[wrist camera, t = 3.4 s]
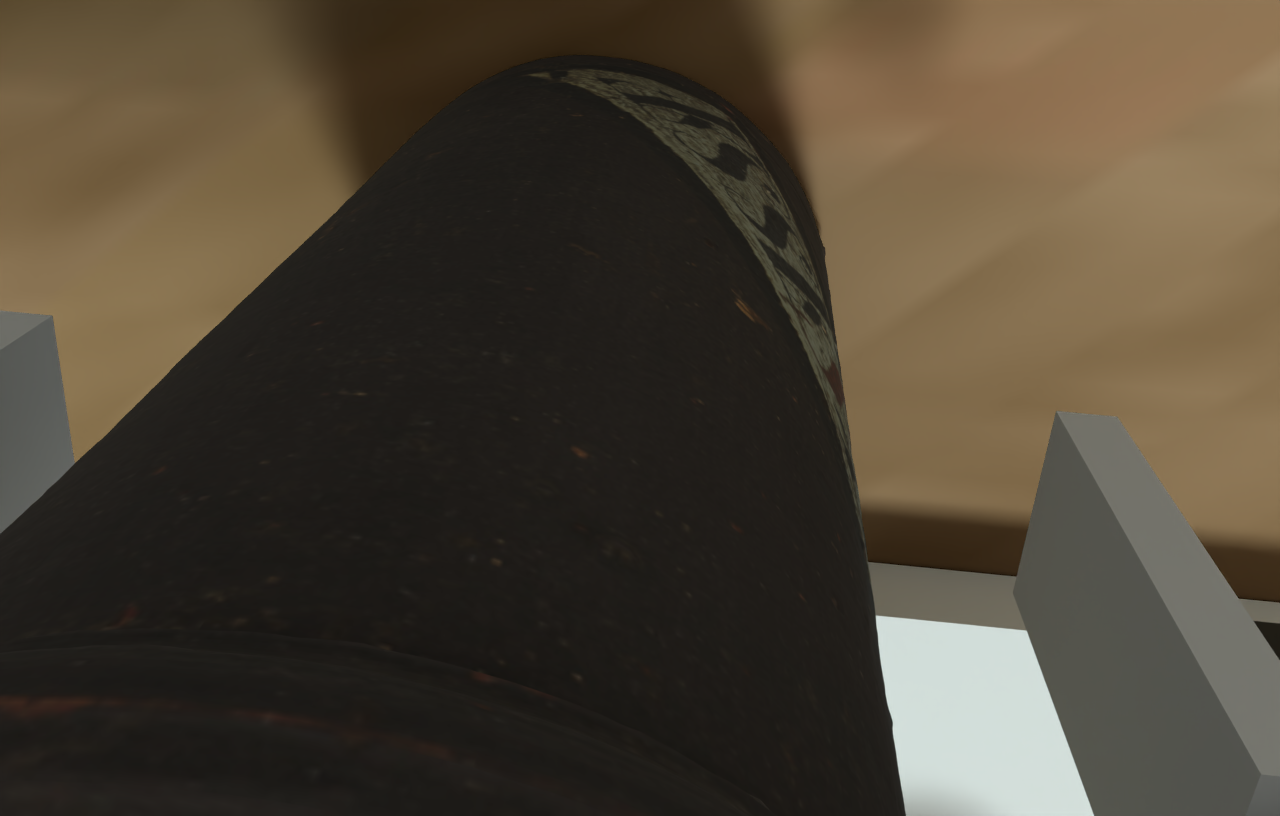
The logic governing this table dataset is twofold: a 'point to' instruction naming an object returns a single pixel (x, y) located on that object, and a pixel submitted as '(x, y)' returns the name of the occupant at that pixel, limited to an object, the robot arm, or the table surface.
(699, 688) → the container
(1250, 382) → the table surface
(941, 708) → the thin white panel
